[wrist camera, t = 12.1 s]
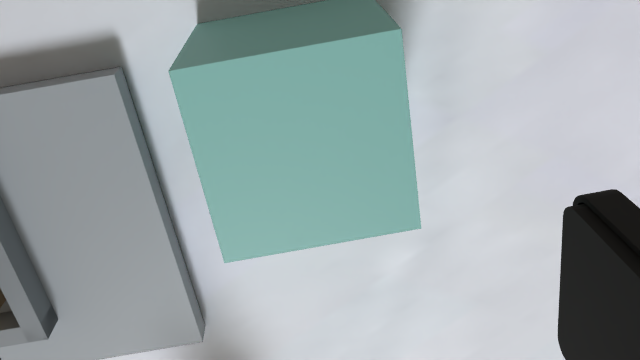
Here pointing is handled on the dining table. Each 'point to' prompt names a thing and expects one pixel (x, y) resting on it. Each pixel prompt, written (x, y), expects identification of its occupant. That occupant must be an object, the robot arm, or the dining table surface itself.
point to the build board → (85, 227)
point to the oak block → (2, 298)
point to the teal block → (300, 126)
